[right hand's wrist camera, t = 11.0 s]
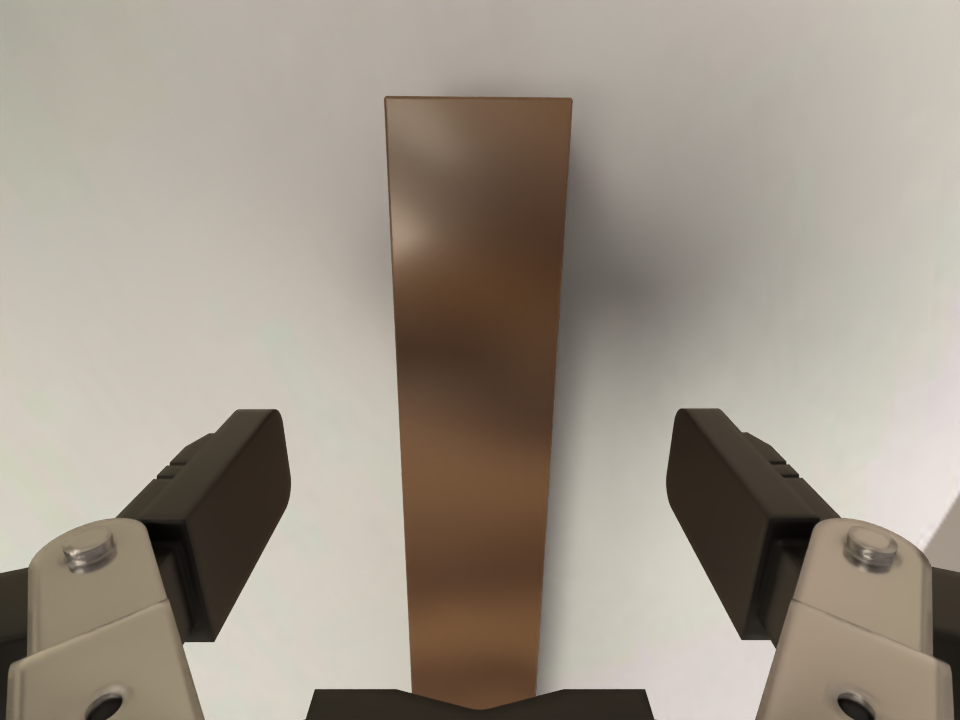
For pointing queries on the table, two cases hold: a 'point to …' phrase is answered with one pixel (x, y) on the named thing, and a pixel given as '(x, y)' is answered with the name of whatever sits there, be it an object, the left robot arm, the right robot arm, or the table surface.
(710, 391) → the table surface
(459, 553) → the bar
